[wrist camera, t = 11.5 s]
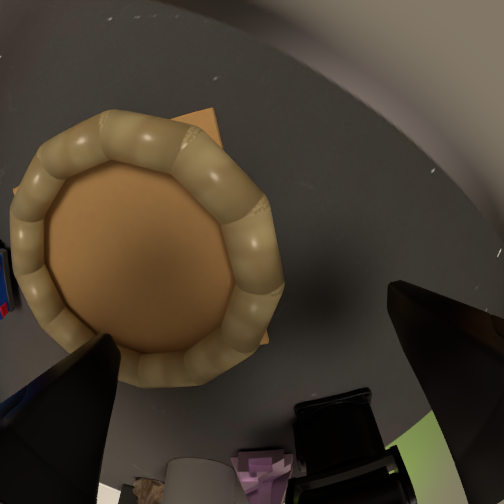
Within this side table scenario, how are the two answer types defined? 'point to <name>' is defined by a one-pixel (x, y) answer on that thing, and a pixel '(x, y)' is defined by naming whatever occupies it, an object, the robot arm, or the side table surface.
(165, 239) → the mat
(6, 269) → the toy car
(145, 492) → the figurine
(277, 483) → the purple jagged faceted chunk
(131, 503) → the walkie-talkie
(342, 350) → the side table surface
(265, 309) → the segmented tan ring
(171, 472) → the cup
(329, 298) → the side table surface
